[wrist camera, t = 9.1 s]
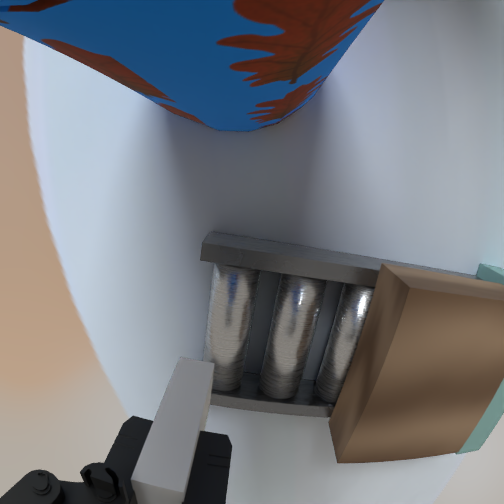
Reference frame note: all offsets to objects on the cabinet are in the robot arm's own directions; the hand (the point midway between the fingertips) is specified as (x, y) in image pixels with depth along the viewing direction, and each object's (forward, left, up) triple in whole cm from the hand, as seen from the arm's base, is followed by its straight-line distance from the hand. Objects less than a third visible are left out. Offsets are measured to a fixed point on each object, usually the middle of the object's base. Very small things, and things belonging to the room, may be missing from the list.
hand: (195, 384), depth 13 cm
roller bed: (+1, +9, -9) cm, 12 cm away
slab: (+1, +14, -6) cm, 15 cm away
